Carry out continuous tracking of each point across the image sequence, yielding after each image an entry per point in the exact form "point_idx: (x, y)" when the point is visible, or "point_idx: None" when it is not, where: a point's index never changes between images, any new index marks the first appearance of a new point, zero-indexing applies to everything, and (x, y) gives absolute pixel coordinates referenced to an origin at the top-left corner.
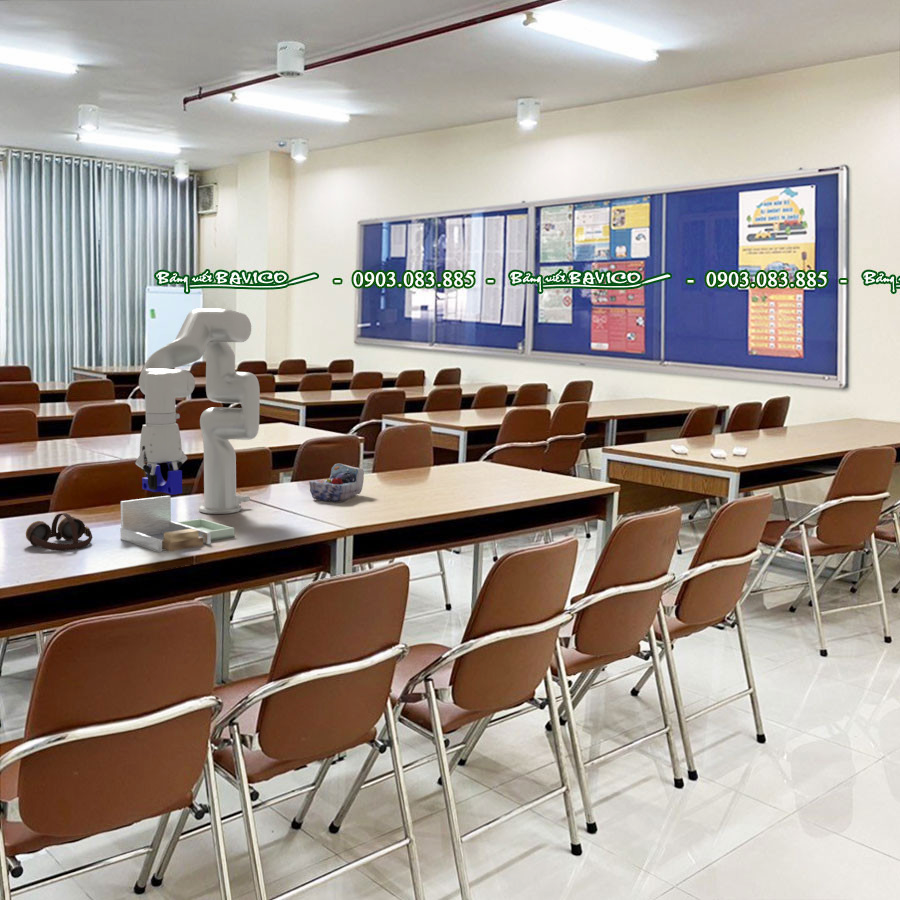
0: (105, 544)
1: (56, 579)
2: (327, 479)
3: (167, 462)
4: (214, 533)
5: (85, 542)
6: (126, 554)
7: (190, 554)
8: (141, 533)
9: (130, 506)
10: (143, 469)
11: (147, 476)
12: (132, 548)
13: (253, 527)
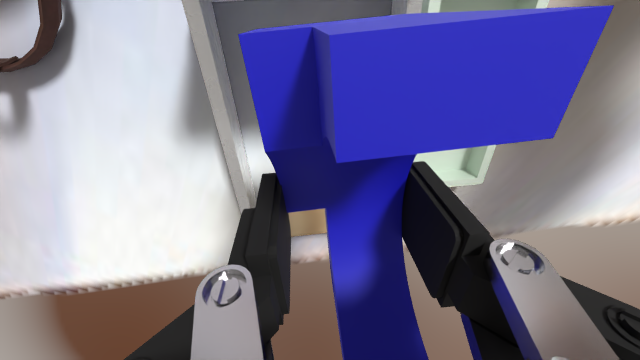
0: (127, 50)
1: (18, 294)
2: None
3: (532, 358)
4: None
5: (36, 57)
6: (176, 198)
7: (300, 252)
8: (231, 139)
9: None
10: (146, 357)
11: (314, 34)
12: (203, 150)
13: (597, 95)
